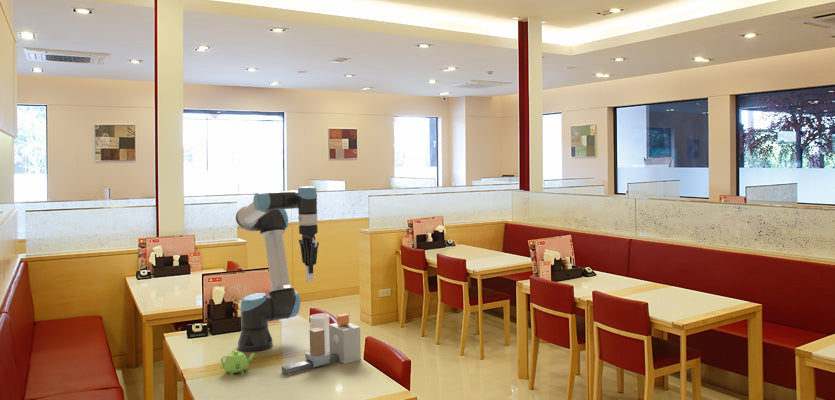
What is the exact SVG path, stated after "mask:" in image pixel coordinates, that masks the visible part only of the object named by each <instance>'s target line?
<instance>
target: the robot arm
mask: <svg viewBox="0 0 835 400" xmlns="http://www.w3.org/2000/svg"><path fill="white" fill-rule="evenodd" d="M317 197H318V193H317V188H316V187H315V186H308V185H307V186H299V187H298V188H297V189H293V190H283V191H282V190H281V191H260V192H256V193H254V196H253V200H252V202H251V203H250V204H248V205H245V206H242V207H240V209H238V211H237V212H236V214H235V221H236V222H235V223H236V224H237V226H239V227H240V228H241V229H242V230H244V231H248V232H260V236H261V237H263V239H264V243H265V244H264V246H265V252H266V258H267V259H266V260H267V264H268V265H267V266H268V272H269V273H268V274H269V280H270V281H269V282H270V287H271V288H270V289H269V290H268V294H267V293H265V292H256V293H251V294H248V295H245V296H244V297H243V298H242V299H241V300H240V307H239V310H240V323H241V324H240V325H241V330H240V335H239V337H238V342H237V349H238V351H243V352H260V351H263V350H267V349H269V348H271V347H272V346H273V345H274V343H273V338H272V335H271V332H270V328H269V322H273V321H279V320H286V319H291V318H294V317H297V316H298V314H299V311H300V308H301V297H300V294H299V292H298V291H295V287H294V286H292V284H291V282H290V275H289V269H288V263H287V262H288V261H287V256H286V250H285V249H286V248H285V243H284V234H285V233H286V229H288V227H289V216H288V213H287V211H286V210H290V209H291V210H292V209H298V212H297V213H298V217H297V218H298V224H299V225H298V234H299V235H301V239H299V240H298V243H299V248H300V253H301V254H300V255H301V261H302V262H301V263H302V264H304V266H305V281H306V282H312V281H314V280H315V279H314V266H315V265H317V259H318V248H319V245H320V242H318V241H316V234H317V233H318V232H319V231H318V198H317Z"/></svg>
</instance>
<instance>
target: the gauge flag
mask: <svg viewBox="0 0 835 400" xmlns="http://www.w3.org/2000/svg"><path fill="white" fill-rule="evenodd" d="M336 323H337V325H339V326H342V325H346V324H349V323H350V315H349V314H348V313H341V314H337V315H336Z"/></svg>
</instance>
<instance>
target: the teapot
mask: <svg viewBox="0 0 835 400" xmlns="http://www.w3.org/2000/svg"><path fill="white" fill-rule="evenodd" d="M255 356H256V353H254V352H251V354H250V355H249V356H248V357H247V356H246V355H245V354H244V353H243V352H241V351H239V350H232V351H231V352H230V353H229V354H228V355H223V356H222V357H221V359H220V362H221V364H220V366H219V368H220V369H221V370H225V371H226V372H227V373H229V374H228V375H229V376H232V375H235V373H240V374H244V373H245V371H246V370H247V368H249V363H251V361H252V360H253V359H254V358H255ZM223 359H225V360H224V361H223Z"/></svg>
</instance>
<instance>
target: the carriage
mask: <svg viewBox="0 0 835 400" xmlns="http://www.w3.org/2000/svg"><path fill="white" fill-rule="evenodd" d="M329 359H330V352H329V353H327V352H325V337H324V330H323V329H321V328H315V329H309V351H308V352H305V361H306V360H310V361H312V362H313V367H316V366H319V365H323V364H327V363H329Z"/></svg>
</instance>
